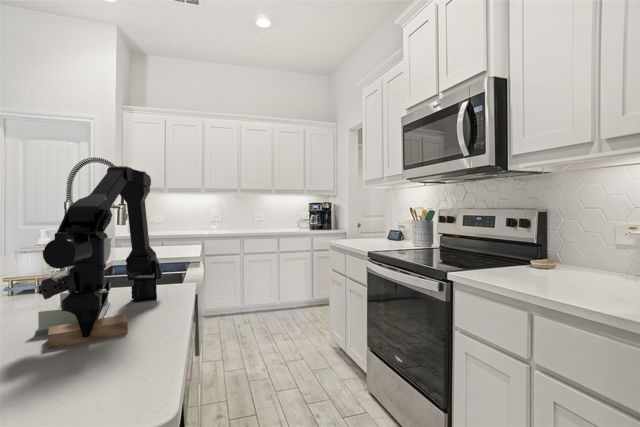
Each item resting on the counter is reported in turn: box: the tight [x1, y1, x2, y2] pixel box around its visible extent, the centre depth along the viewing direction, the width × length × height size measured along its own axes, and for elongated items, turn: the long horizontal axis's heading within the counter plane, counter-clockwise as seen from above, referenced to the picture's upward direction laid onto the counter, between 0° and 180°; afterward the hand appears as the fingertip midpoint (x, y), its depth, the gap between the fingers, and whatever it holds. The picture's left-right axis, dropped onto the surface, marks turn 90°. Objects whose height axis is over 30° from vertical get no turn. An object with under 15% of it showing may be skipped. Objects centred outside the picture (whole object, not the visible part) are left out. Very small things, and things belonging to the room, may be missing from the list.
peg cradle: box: [34, 289, 111, 336], centre depth 86 cm, size 12×20×5 cm, turn 26°
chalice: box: [104, 237, 113, 293], centre depth 114 cm, size 7×7×18 cm
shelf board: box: [47, 314, 129, 349], centre depth 74 cm, size 14×6×3 cm, turn 128°
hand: (89, 331), depth 74 cm, fingers open, 6 cm apart
